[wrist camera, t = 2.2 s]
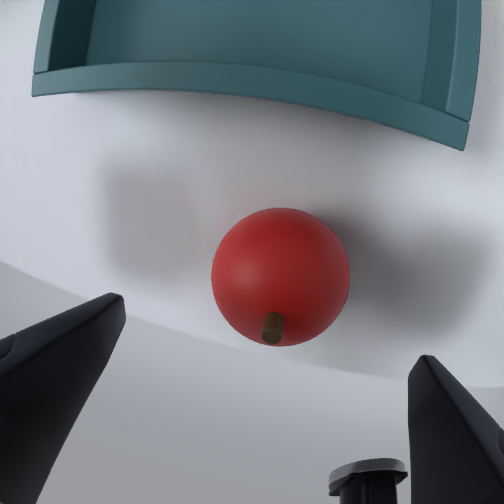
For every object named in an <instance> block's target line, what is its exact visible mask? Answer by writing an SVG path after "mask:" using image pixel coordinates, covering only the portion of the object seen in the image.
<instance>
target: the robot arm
mask: <svg viewBox="0 0 504 504" xmlns="http://www.w3.org/2000/svg"><path fill="white" fill-rule="evenodd" d="M125 321H126V313H125V305H124V299H123V297H122V296H121V295H119V294H115V293H107V294H105V295H103V296H100V297H98V298H95V299H93V300H91V301H88V302H86V303H84V304H82V305H79V306H77V307H74V308H72V309H70V310H67V311H65V312H63V313H60V314H58V315H56V316H53V317H51V318H49V319H46V320H44V321H42V322H40V323H37V324H35V325H33V326H30V327H28V328H26V329H24V330H21V331H19V332H17V333H16V334H12V335H10V336H8V337H5V338H3V339H1V340H0V504H36V502H37V500H38V497H39V495H40V493H41V491H42V489H43V486H44V484H45V482H46V480H47V478H48V476H49V474H50V471H51V468H52V467H53V465H54V463H55V461H56V459H57V457H58V455H59V452H60V450H61V448H62V446H63V444H64V442H65V440H66V438H67V437H68V435H69V432H70V431H71V429H72V427H73V425H74V423H75V421H76V419H77V417H78V415H79V413H80V412H81V410H82V408H83V406H84V404H85V402H86V400H87V399H88V397H89V395H90V393H91V391H92V390H93V388H94V386H95V384H96V382H97V381H98V379H99V377H100V375H101V374H102V372H103V370H104V368H105V367H106V365H107V363H108V361H109V358H110V356H111V354H112V352H113V349H114V347H115V345H116V342H117V340H118V338H119V336H120V333H121V331H122V329H123V327H124V324H125ZM408 429H409V443H410V462H411V504H504V430H503V429H502V428H500V426H499V425H498V424H497V423H496V422H495V420H494V419H493V418H492V417H491V416H490V415H489V414H488V413H487V412H486V410H485V409H484V408H483V407H482V406H481V405H480V404H479V403H478V402H477V401H476V400H475V399H474V397H473V396H472V395H471V394H470V393H469V392H468V391H467V390H466V389H465V388H464V387H463V386H462V385H461V384H460V382H459V381H458V380H457V379H456V378H455V377H454V376H453V375H452V374H451V373H450V372H449V371H448V370H447V369H446V368H445V367H444V366H443V365H442V364H441V363H440V362H439V361H438V360H437V359H436V358H435V357H434V356H431V355H422V356H421V357H420V358H419V359H418V361H417V362H416V364H415V365H414V367H413V369H412V370H411V372H410V374H409V376H408ZM407 476H408V472H382V473H358V472H354V473H350V474H348V475H347V476H346V477H345V478H344V479H343V480H342V481H341V482H340V483H338V484H337V485H336V486H335V487H334V488H333V489H332V490H330V491H329V495H330V496H340V504H398V503H397V488H396V485H397V484H398V483H399V482H401V481H402V480H403V479H405V478H406V477H407Z"/></svg>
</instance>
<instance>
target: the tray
mask: <svg viewBox="0 0 504 504" xmlns="http://www.w3.org/2000/svg"><path fill="white" fill-rule="evenodd" d="M480 36H481V0H45V3H44V8H43V12H42V17H41V22H40V28H39V33H38V39H37V46H36V53H35V61H34V70H33V73H34V75H33V81H32V94H31V95H32V97H37V96H45V95H55V94H66V93H79V92H94V91H118V90H160V91H185V92H201V93H214V94H224V95H234V96H243V97H251V98H258V99H265V100H272V101H278V102H284V103H290V104H296V105H301V106H306V107H312V108H316V109H321V110H326V111H331V112H335V113H339V114H344V115H348V116H352V117H356V118H360V119H364V120H367V121H371V122H375V123H378V124H382V125H385V126H389V127H392V128H395V129H399V130H402V131H405V132H408V133H411V134H414V135H417V136H420V137H423V138H426V139H429V140H432V141H435V142H438V143H441V144H443V145H446V146H449V147H452V148H455V149H457V150H460V151H463V150H464V148H465V143H466V139H467V134H468V129H469V123H468V122H469V121H470V118H471V113H472V107H473V101H474V95H475V88H476V81H477V72H478V63H479V52H480Z"/></svg>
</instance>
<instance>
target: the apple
mask: <svg viewBox="0 0 504 504" xmlns="http://www.w3.org/2000/svg"><path fill="white" fill-rule="evenodd" d="M211 281H212V289H213V294H214V298H215V301H216V303H217V305H218V308H219V310H220V312H221V313H222V315H223V316H224V318H225V319H226V320H227V321H228V323H229V324H230V325H231V326H232V327H233V328H234V329H235V330H236V331H238V332H239V333H240V334H242V335H243V336H245V337H247V338H248V339H251V340H253V341H255V342H258V343H260V344H264V345H269V346H291V345H296V344H300V343H303V342H306V341H309V340H311V339H313V338H315V337H316V336H318V335H319V334H321V333H322V332H323V331H325V330H326V329H327V328H328V327H329V326H330V325H331V324H332V323H333V322H334V320H335V319H336V318H337V317H338V315H339V314H340V312H341V310H342V308H343V306H344V304H345V301H346V299H347V295H348V291H349V284H350V269H349V263H348V258H347V255H346V253H345V250H344V247H343V245H342V244H341V242H340V240H339V239H338V237H337V236H336V235H335V233H334V232H333V231H332V230H331V229H330V228H329V227H328V226H327V225H326V224H325V223H324V222H322V221H321V220H320V219H318V218H316V217H315V216H313V215H311V214H308V213H306V212H304V211H300V210H296V209H290V208H271V209H266V210H262V211H258V212H256V213H253V214H251V215H249V216H247V217H246V218H244V219H242V220H241V221H240V222H238V223H237V224H236V225H234V226H233V228H232V229H231V230H230V231H229V232H228V233H227V234H226V236H225V237H224V238H223V240H222V241H221V243H220V245H219V247H218V249H217V251H216V254H215V257H214V260H213V266H212V276H211Z"/></svg>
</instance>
